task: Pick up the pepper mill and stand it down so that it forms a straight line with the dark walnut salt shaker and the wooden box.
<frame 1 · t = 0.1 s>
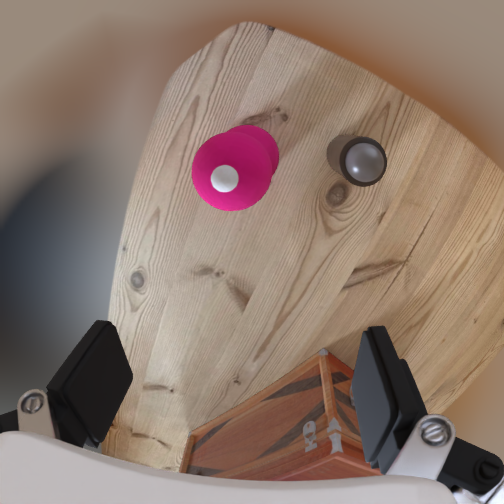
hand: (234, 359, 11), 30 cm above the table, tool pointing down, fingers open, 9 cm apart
wooden box: (280, 420, 57), on the table
pepper mill: (249, 153, 37), on the table
salt shaker: (346, 154, 36), on the table
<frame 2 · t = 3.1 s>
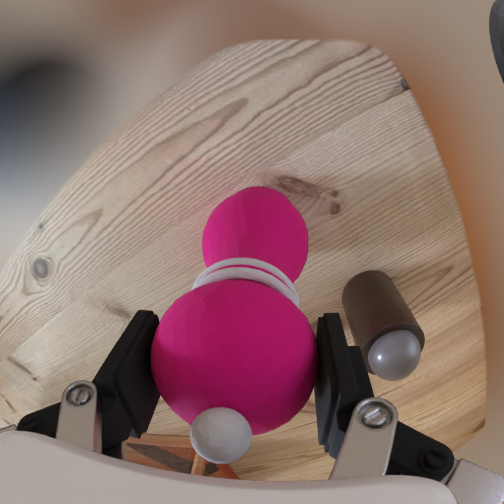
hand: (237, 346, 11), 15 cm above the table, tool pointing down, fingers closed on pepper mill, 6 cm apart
wooden box: (131, 456, 45), on the table
pepper mill: (259, 222, 25), on the table, touching gripper
salt shaker: (368, 295, 27), on the table
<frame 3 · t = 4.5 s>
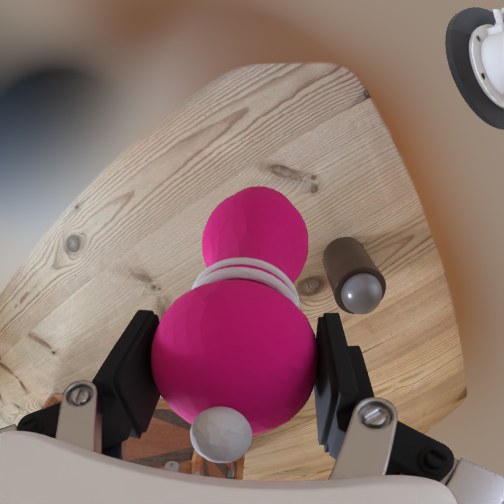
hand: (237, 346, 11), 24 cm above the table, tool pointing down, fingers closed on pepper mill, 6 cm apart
wooden box: (140, 427, 53), on the table
pepper mill: (259, 222, 25), point 8 cm above the table, touching gripper
salt shaker: (344, 257, 35), on the table
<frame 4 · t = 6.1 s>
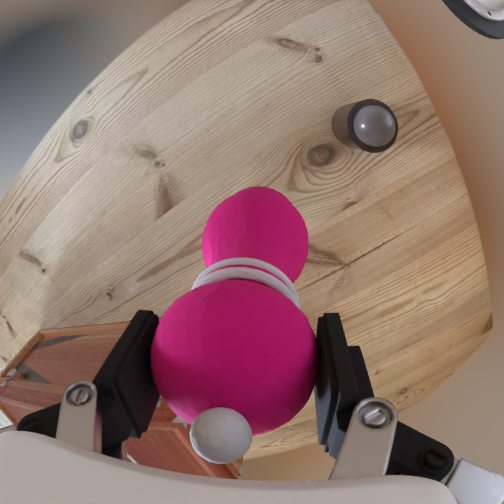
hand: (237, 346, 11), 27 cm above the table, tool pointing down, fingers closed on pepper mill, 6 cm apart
wooden box: (131, 365, 50), on the table
pepper mill: (259, 222, 25), point 12 cm above the table, touching gripper
salt shaker: (352, 125, 32), on the table
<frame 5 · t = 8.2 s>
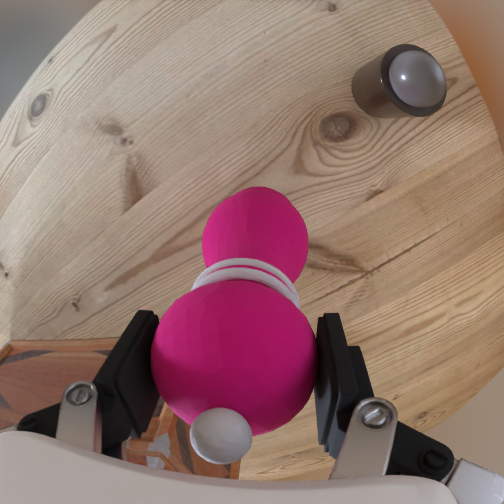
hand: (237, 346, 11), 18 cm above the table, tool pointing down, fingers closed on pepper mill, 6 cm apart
wooden box: (108, 386, 41), on the table
pepper mill: (259, 222, 25), point 3 cm above the table, touching gripper
salt shaker: (378, 90, 23), on the table
when the fingers open (15 cm above the table, at t = 9.6 s): pepper mill stays where it is, on the table.
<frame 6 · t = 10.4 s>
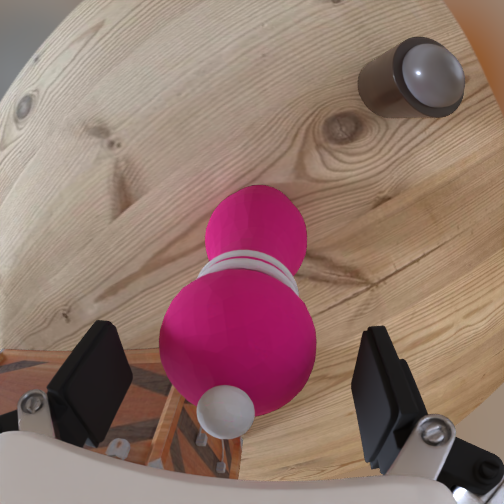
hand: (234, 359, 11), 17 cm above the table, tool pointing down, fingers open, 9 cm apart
wooden box: (102, 398, 39), on the table
pepper mill: (259, 220, 26), on the table
salt shaker: (386, 88, 20), on the table
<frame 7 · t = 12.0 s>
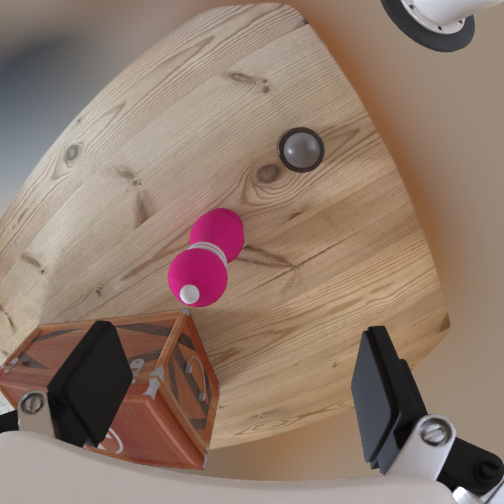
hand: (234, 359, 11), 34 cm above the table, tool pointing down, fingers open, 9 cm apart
wooden box: (118, 356, 57), on the table
pepper mill: (222, 228, 45), on the table
salt shaker: (296, 146, 40), on the table
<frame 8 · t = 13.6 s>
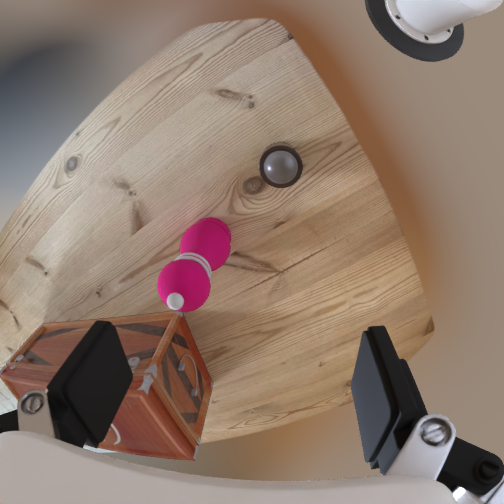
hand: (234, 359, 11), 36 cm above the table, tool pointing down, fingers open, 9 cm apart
wooden box: (118, 353, 61), on the table
pepper mill: (211, 235, 48), on the table
salt shaker: (280, 159, 42), on the table
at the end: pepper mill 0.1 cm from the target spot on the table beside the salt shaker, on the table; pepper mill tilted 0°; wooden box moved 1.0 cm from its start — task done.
